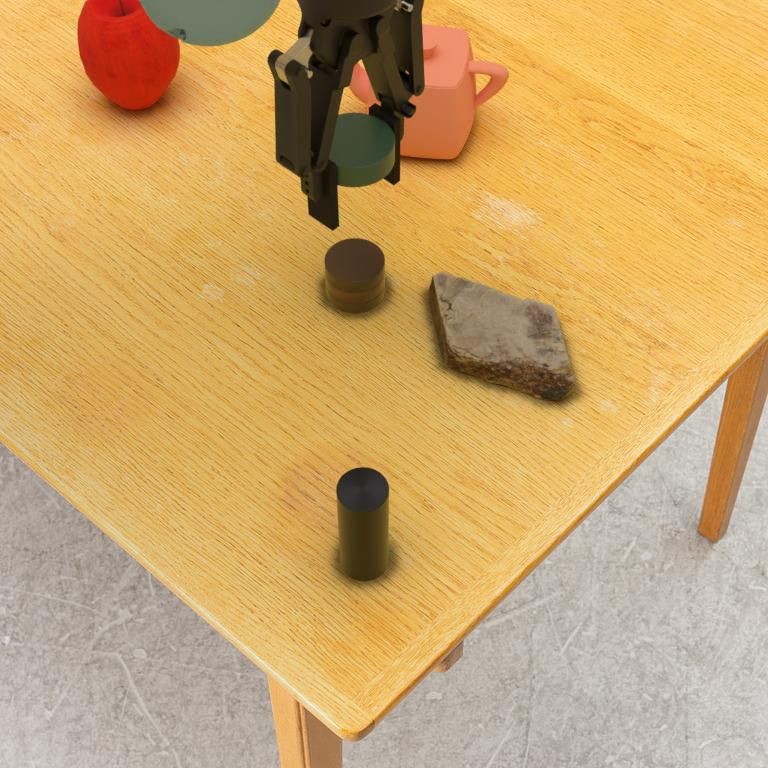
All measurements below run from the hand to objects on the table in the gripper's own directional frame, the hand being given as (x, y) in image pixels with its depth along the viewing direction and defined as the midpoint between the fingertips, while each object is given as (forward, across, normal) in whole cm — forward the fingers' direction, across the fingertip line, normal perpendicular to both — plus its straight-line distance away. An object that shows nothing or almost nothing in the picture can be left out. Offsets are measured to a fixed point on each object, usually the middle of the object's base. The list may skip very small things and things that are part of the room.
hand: (354, 197), depth 95 cm
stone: (+12, +4, -13) cm, 18 cm away
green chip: (-4, 0, 0) cm, 4 cm away
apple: (+12, +4, +35) cm, 37 cm away
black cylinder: (+11, -19, -19) cm, 29 cm away
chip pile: (+11, 0, 0) cm, 11 cm away
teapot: (+12, +20, +11) cm, 26 cm away
